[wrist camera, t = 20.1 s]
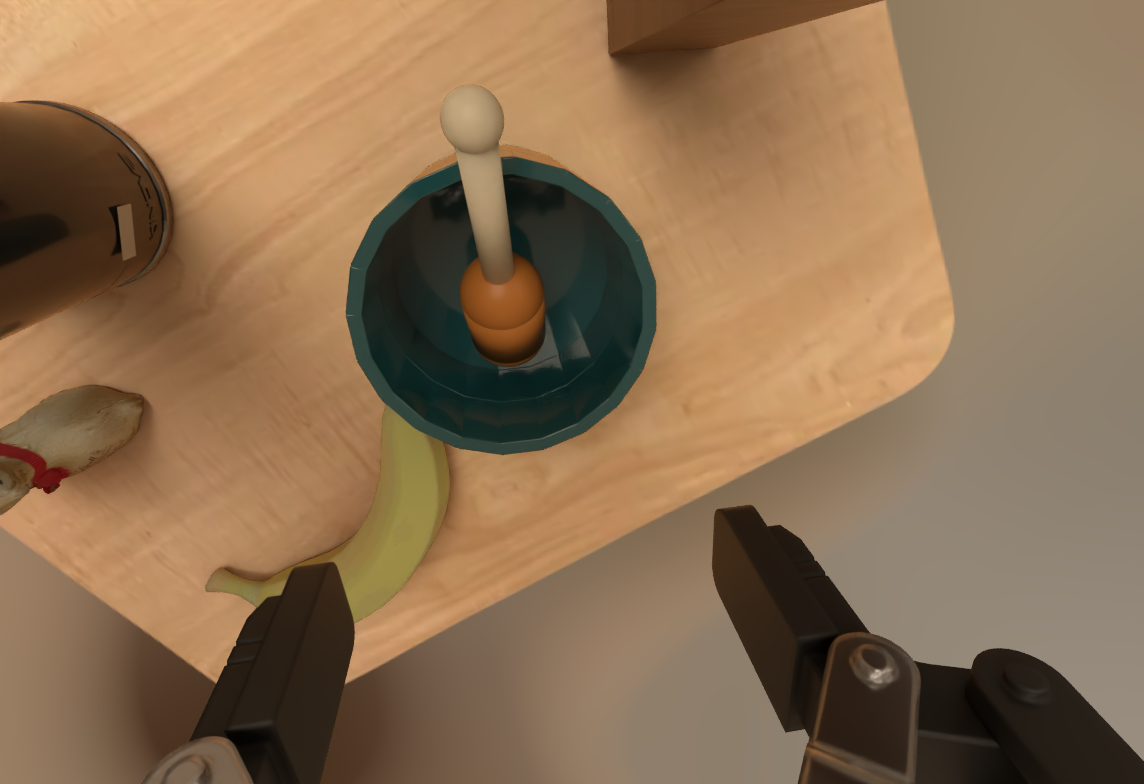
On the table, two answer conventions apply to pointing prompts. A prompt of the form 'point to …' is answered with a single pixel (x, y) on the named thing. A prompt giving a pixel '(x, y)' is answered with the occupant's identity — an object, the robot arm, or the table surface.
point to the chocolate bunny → (64, 438)
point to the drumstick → (492, 237)
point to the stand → (707, 21)
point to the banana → (378, 525)
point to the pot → (438, 325)
